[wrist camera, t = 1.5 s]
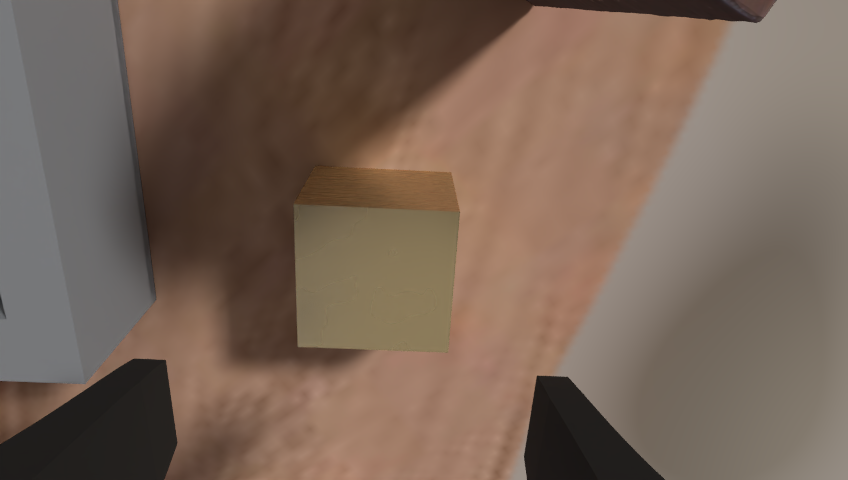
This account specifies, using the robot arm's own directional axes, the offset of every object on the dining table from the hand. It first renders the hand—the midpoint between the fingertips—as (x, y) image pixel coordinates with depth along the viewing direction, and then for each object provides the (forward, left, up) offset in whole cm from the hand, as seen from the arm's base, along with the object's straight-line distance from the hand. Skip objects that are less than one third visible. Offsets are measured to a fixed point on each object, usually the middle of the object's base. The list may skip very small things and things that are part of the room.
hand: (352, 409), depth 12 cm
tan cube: (0, 0, -10) cm, 10 cm away
